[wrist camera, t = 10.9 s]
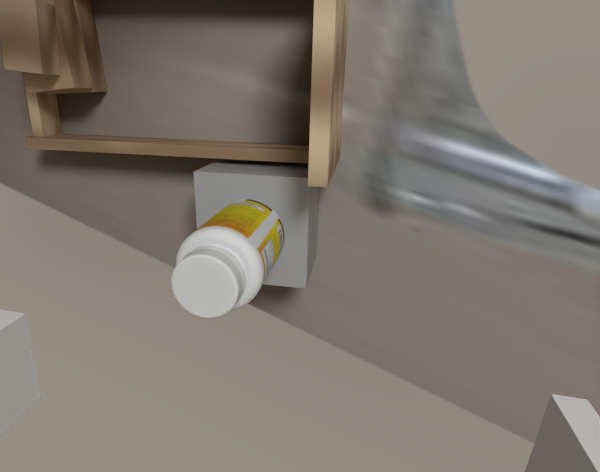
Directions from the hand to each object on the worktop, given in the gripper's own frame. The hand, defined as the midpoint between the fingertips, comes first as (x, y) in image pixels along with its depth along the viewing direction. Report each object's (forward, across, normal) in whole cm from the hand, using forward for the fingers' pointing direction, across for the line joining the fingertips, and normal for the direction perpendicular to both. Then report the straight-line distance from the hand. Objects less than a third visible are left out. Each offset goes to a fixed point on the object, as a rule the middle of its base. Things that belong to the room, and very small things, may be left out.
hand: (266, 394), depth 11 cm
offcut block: (+24, -24, +9) cm, 36 cm away
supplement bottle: (+22, -6, -4) cm, 23 cm away
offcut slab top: (+27, -25, +9) cm, 38 cm away
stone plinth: (+29, -6, -4) cm, 30 cm away
